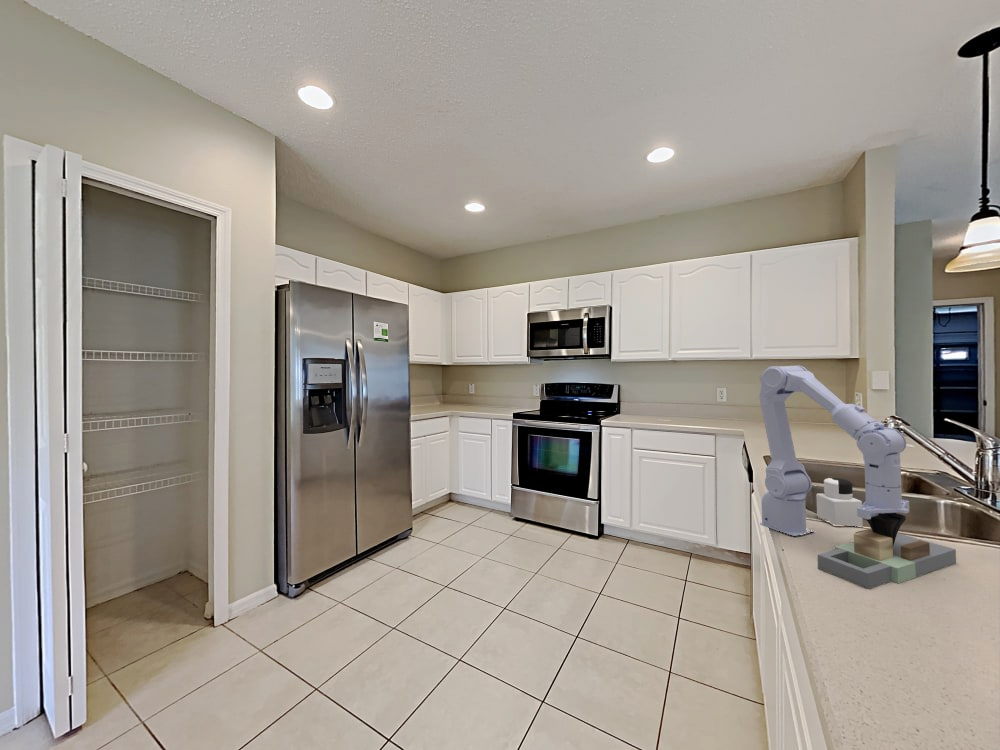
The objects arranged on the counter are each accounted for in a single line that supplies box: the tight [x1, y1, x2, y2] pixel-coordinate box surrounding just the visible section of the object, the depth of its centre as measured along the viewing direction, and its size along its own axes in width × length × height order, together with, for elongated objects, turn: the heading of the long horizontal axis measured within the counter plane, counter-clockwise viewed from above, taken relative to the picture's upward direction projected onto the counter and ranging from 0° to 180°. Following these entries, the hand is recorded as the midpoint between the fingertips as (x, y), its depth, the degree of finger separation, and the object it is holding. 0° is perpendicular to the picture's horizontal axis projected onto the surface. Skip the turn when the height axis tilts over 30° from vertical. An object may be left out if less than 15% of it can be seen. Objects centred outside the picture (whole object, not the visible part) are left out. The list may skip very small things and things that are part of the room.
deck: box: [817, 532, 957, 590], centre depth 87 cm, size 11×28×3 cm, turn 110°
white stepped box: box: [816, 477, 864, 528], centre depth 111 cm, size 7×7×12 cm
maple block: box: [853, 531, 893, 561], centre depth 85 cm, size 4×4×4 cm
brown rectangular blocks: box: [854, 527, 930, 561], centre depth 87 cm, size 10×7×2 cm
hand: (885, 546), depth 87 cm, fingers closed
